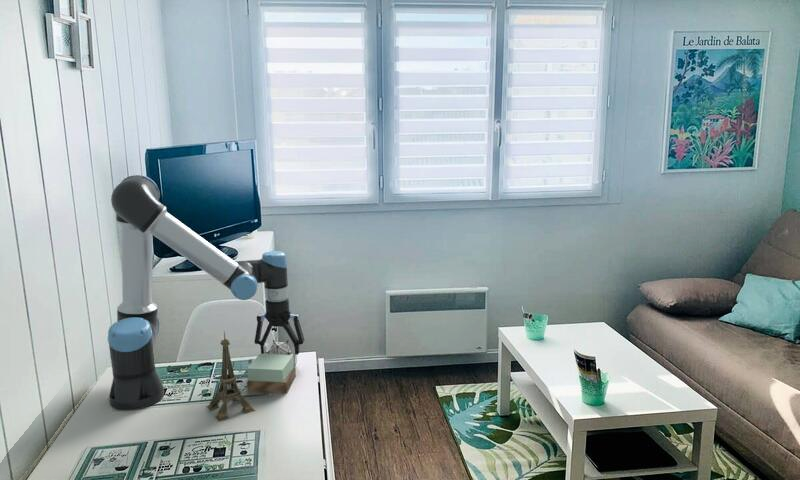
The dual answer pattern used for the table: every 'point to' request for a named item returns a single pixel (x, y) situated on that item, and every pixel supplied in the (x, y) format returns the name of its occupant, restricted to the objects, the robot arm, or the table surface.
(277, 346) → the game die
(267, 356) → the top block
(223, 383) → the eiffel tower
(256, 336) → the robot arm
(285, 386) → the base block
